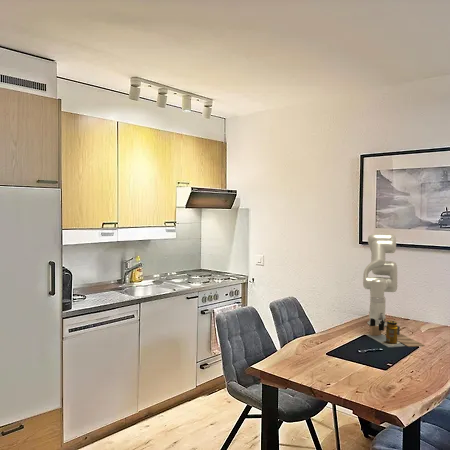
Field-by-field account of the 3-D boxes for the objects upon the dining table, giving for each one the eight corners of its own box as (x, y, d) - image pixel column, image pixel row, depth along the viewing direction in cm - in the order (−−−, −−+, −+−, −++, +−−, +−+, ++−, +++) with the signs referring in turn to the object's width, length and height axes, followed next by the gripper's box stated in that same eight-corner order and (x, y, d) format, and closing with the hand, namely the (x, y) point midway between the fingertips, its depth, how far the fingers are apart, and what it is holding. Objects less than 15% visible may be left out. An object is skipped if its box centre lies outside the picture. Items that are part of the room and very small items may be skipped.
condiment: (400, 342, 252) (400, 321, 252) (393, 345, 246) (393, 324, 246) (387, 340, 258) (388, 319, 257) (381, 343, 252) (381, 322, 251)
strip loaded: (366, 335, 269) (366, 326, 268) (381, 334, 271) (381, 325, 270) (388, 347, 245) (388, 337, 245) (404, 346, 247) (404, 336, 247)
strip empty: (384, 334, 270) (385, 325, 270) (399, 334, 272) (399, 325, 271) (408, 347, 246) (408, 337, 246) (424, 345, 248) (424, 336, 248)
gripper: (364, 297, 273) (363, 325, 273) (379, 302, 256) (378, 332, 256) (375, 297, 275) (375, 325, 275) (391, 302, 258) (390, 331, 258)
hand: (376, 328), depth 266 cm, fingers open, 9 cm apart
